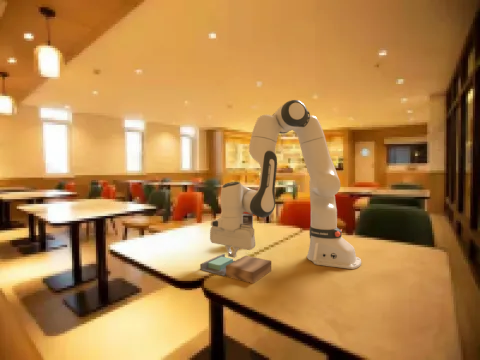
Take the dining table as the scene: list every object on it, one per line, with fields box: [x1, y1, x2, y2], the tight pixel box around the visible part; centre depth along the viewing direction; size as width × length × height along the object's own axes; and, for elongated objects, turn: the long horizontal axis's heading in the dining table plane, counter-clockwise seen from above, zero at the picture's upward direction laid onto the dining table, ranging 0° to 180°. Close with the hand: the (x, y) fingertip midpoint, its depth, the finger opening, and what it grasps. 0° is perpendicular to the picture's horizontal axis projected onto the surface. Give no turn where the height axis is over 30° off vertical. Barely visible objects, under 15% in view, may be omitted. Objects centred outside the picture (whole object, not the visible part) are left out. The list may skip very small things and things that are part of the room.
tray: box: [199, 253, 235, 277], centre depth 114 cm, size 12×15×2 cm
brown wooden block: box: [226, 255, 272, 284], centre depth 107 cm, size 12×14×4 cm
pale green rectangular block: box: [208, 256, 234, 270], centre depth 114 cm, size 6×9×2 cm, turn 146°
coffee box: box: [243, 213, 254, 228], centre depth 146 cm, size 9×6×16 cm
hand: (232, 256), depth 111 cm, fingers closed
